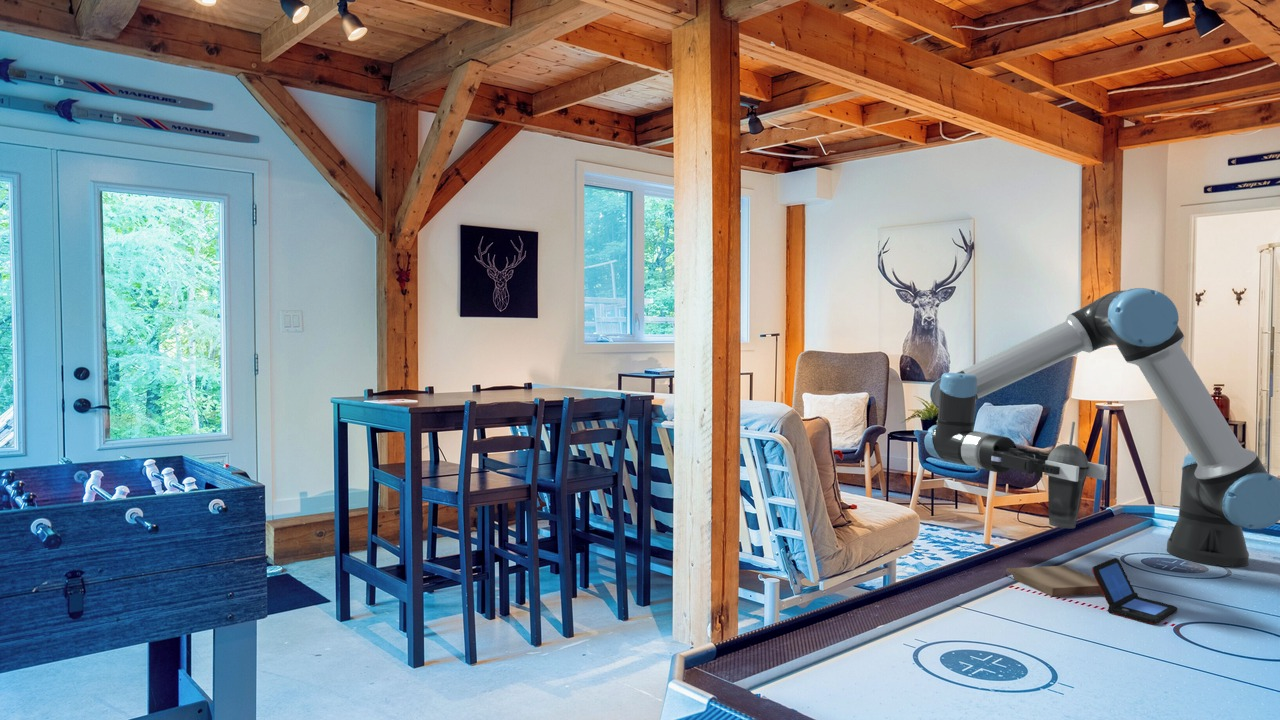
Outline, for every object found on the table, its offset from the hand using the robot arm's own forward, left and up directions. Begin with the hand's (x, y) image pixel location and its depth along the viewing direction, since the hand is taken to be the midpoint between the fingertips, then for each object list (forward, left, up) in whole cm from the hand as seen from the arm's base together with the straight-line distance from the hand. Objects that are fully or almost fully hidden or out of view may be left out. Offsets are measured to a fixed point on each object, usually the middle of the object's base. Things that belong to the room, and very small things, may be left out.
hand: (1091, 473), depth 155 cm
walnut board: (+1, -5, -22) cm, 23 cm away
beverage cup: (+1, -5, -11) cm, 12 cm away
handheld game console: (-2, +9, -23) cm, 25 cm away
